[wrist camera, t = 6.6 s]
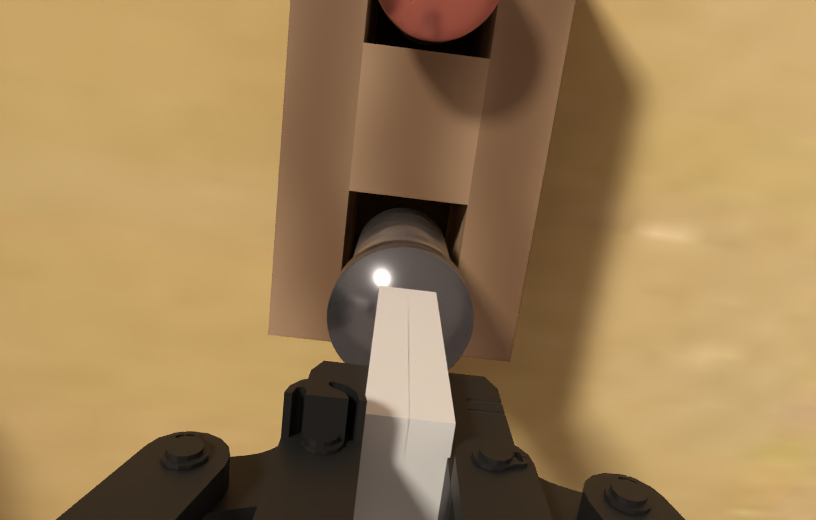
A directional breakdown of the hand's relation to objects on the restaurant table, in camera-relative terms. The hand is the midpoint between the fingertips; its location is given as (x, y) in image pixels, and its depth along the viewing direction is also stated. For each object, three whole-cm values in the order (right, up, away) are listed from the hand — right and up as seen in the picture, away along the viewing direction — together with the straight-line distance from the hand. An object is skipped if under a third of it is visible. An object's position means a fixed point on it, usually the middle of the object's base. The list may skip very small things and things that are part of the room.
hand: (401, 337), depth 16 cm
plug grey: (0, +2, +8) cm, 9 cm away
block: (+1, +9, +13) cm, 16 cm away
